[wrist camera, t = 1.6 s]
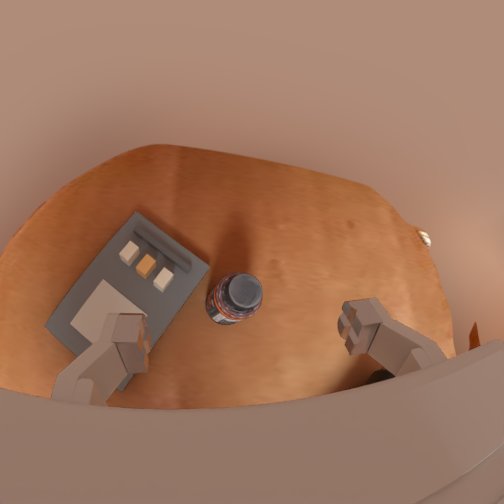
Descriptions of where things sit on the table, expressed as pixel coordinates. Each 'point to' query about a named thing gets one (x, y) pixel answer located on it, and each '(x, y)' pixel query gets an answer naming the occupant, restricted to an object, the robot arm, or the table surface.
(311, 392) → the table surface
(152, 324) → the breaker board
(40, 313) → the table surface
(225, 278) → the supplement bottle
